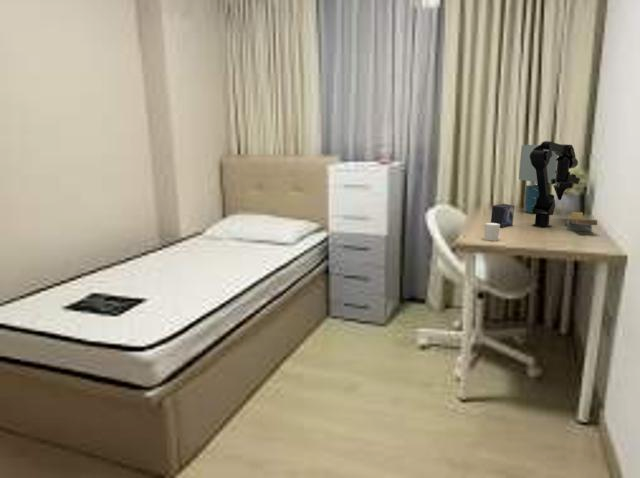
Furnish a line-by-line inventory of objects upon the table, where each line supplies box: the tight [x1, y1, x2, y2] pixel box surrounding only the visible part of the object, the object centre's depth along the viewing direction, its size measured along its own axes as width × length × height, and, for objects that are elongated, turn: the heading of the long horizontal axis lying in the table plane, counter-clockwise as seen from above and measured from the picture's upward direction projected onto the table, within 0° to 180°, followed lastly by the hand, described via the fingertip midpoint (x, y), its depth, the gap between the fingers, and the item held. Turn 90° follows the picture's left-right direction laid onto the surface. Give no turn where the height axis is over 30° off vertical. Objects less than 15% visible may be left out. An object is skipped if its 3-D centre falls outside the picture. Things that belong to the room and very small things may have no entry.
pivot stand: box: [565, 220, 594, 236], centre depth 260 cm, size 25×11×5 cm, turn 169°
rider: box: [567, 211, 584, 220], centre depth 268 cm, size 7×5×4 cm
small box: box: [490, 203, 515, 229], centre depth 269 cm, size 11×6×10 cm, turn 129°
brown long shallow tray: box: [563, 218, 598, 226], centre depth 259 cm, size 26×8×2 cm, turn 169°
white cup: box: [483, 222, 501, 242], centre depth 239 cm, size 7×7×7 cm
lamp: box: [518, 144, 559, 214], centre depth 305 cm, size 19×19×38 cm
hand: (559, 199), depth 277 cm, fingers closed
